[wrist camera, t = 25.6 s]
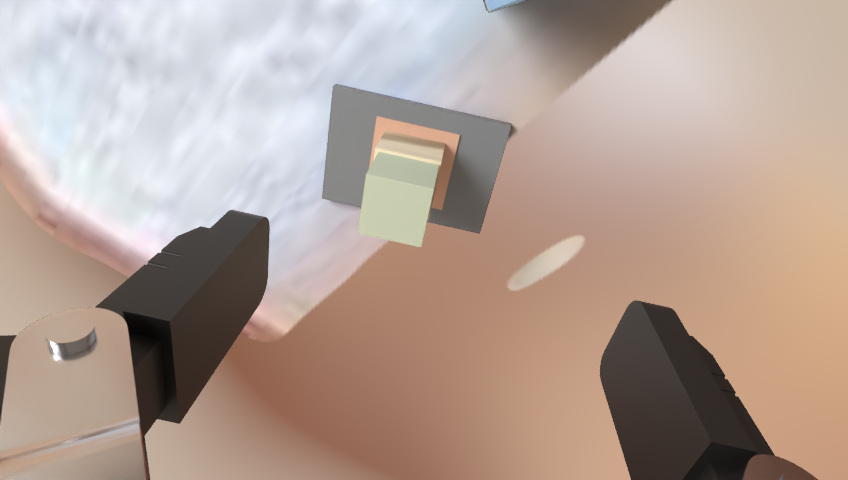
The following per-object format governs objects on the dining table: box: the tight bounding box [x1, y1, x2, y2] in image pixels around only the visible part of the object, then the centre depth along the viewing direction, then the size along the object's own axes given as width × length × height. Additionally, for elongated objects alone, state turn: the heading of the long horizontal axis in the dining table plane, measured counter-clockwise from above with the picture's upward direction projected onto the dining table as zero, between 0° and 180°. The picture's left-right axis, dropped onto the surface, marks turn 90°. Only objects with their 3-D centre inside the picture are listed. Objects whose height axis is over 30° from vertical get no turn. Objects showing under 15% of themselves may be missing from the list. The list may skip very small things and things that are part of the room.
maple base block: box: [373, 130, 445, 221], centre depth 42 cm, size 6×6×5 cm
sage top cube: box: [358, 152, 439, 247], centre depth 37 cm, size 5×5×5 cm
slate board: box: [322, 84, 511, 233], centre depth 44 cm, size 11×16×1 cm
